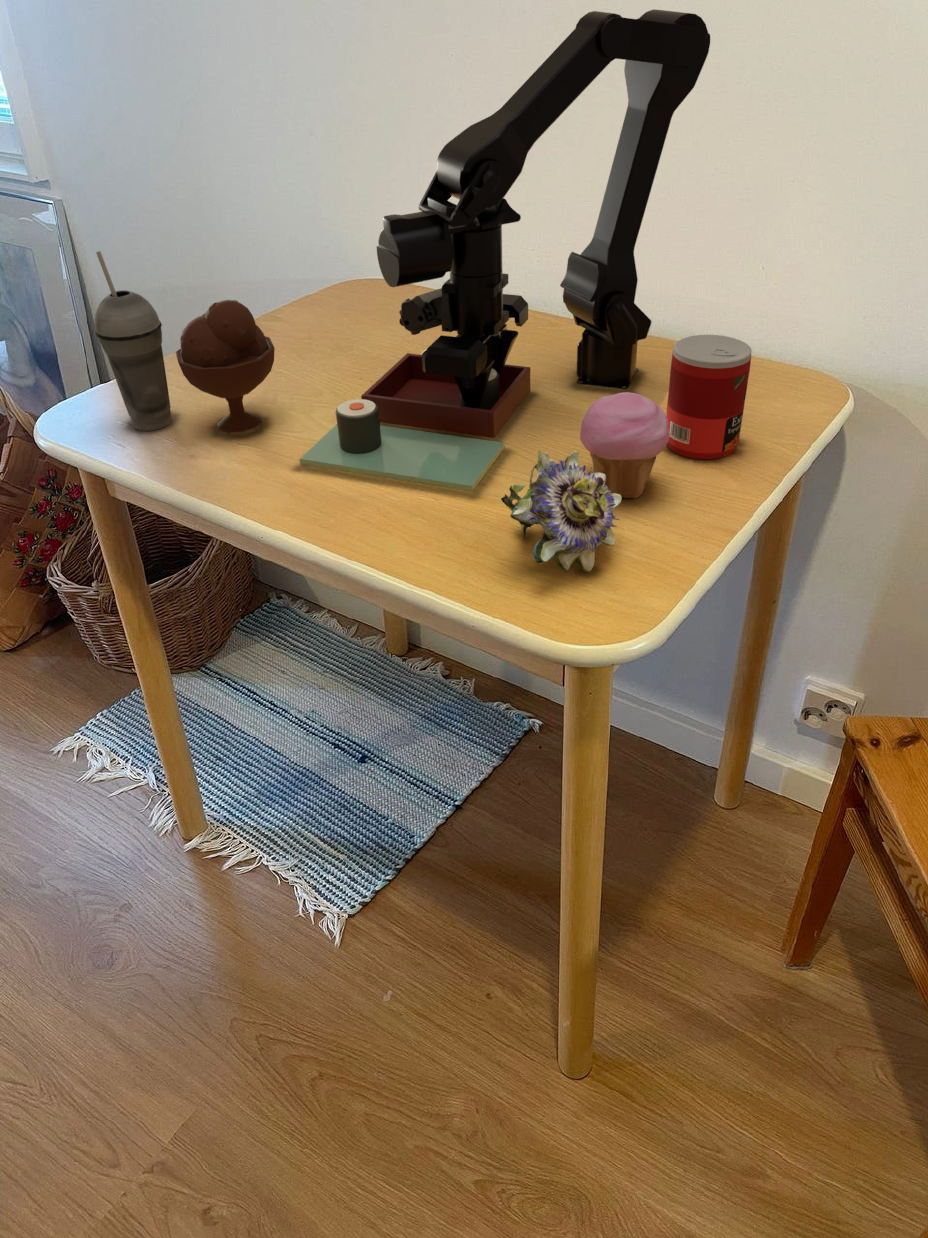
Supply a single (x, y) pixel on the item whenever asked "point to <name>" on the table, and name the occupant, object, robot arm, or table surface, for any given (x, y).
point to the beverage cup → (134, 354)
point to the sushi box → (443, 399)
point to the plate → (412, 457)
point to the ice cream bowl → (226, 359)
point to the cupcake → (624, 440)
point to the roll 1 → (358, 426)
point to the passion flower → (566, 511)
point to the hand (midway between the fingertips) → (480, 403)
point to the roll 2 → (488, 392)
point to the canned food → (707, 395)
